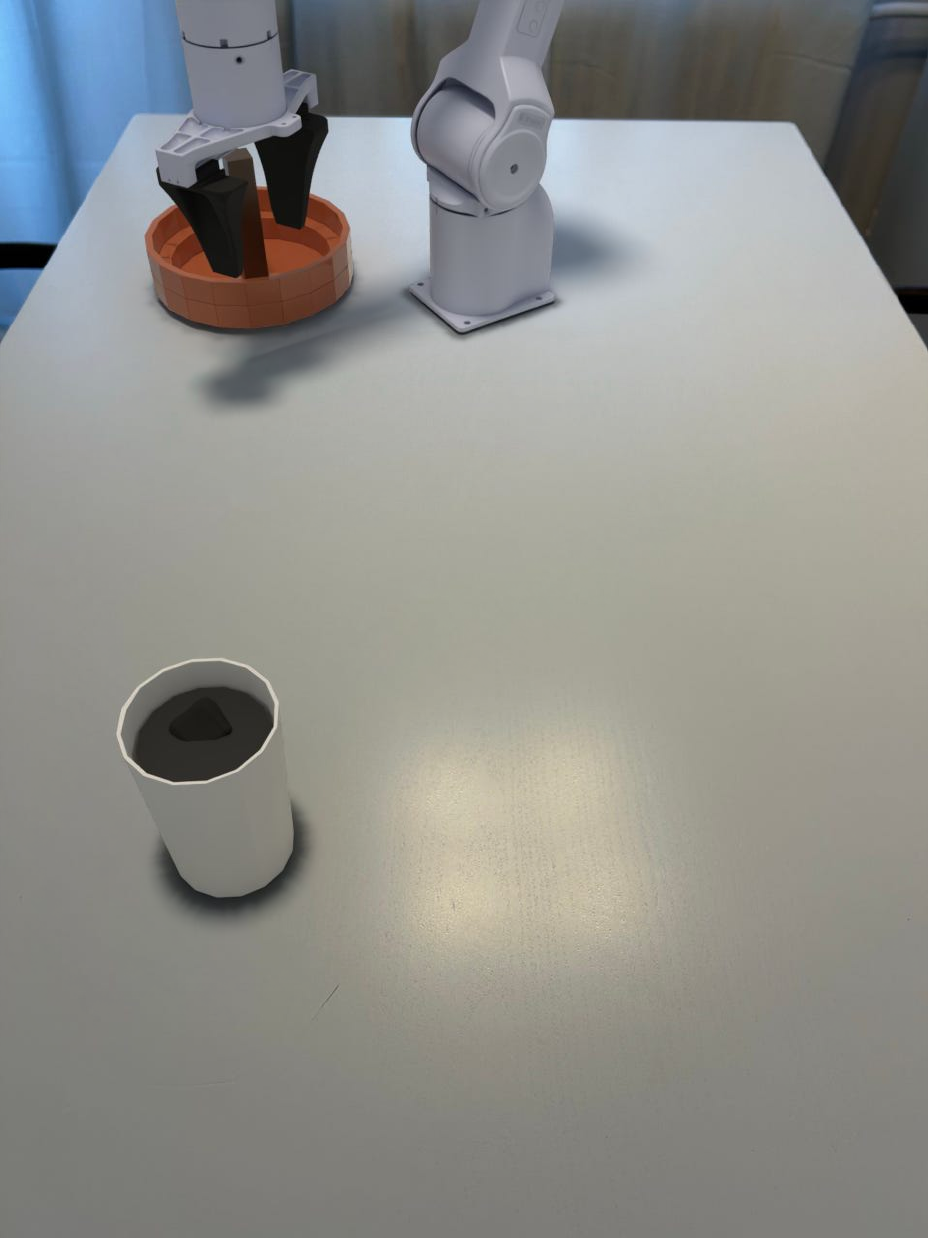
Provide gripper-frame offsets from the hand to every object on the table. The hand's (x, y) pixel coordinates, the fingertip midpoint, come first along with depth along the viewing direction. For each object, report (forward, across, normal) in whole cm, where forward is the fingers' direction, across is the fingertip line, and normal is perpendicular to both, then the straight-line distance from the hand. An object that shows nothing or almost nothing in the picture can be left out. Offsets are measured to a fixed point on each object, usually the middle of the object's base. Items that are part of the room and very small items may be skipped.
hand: (259, 247), depth 71 cm
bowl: (+9, +10, +8) cm, 16 cm away
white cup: (+10, -35, -21) cm, 42 cm away
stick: (+9, +10, +8) cm, 15 cm away
